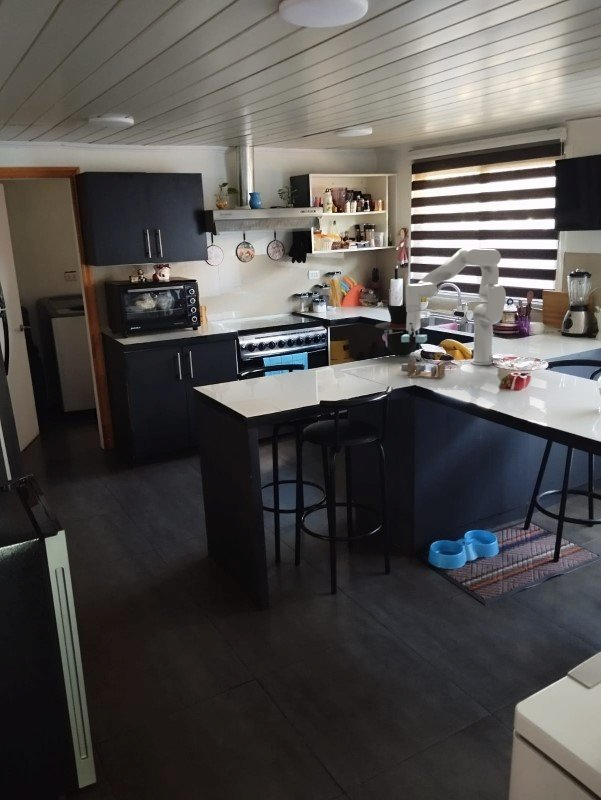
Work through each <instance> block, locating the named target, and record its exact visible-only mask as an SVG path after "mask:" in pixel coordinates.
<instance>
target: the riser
mask: <svg viewBox="0 0 601 800" xmlns="http://www.w3.org/2000/svg"><path fill="white" fill-rule="evenodd" d="M418 365H421V372H422V371H424V370H425V371H426V367H427V366H426V364H419V363H415V370H416V366H418ZM406 370H408V363H402V364H401V371H406ZM425 371H424V372H425Z"/></svg>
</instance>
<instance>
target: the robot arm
mask: <svg viewBox="0 0 601 800" xmlns="http://www.w3.org/2000/svg"><path fill="white" fill-rule="evenodd" d="M501 259H502V256H501V253H500V251H498V250H497V249H493V248H476V247H462V248H460V249H459V250H458V251H456V252H455V253H454V254H453V255H452V256H451V257H450V258H448V259H447V260H446V261H445V262H444V263H443V264H442V265H440V266H439V267H437V268H435V269H434V270H431V271H430V272H428V273H427V274H426V275H425V276H423V277H422V278H421V279H420V280H419V281H418V282H417V283H409V284H407V285H406V287H405V302H406V303H405V304H406V305H405V306H406V312H407V320H406V330H407V331H408V332H409V344H410V345H415V344H416V339H415V335H420V329H421V328H420V322H421V312H422V298H427V299H428V298H433V297H436V295H437V293H438V287H437V285H438V284H440V283H442V282H446V281H449V280H451V279H453V278H455V277H456V276H457V274H459V273H460V272H461V271H462V270H463V269H465V268H466V267H467V266H477V267H478V266H479V268H480V270H481V279H480V280H481V281H480V284H479V285H480V286H479V291H478V297H479V299H480V300H481V301H484V302H486V303H487V304H486V303H481V304H478V305H476V307H474V309H473V312H472V319H473V324H474V326H473V327H474V328H473V331H474V332H473V359H470V364H472V365H475V366H488V365H489V366H490V365H493V364H492V363H493V361H495V362H496V361H497V362H499V361H501V357H499V356H494V353H493V338H494V337H493V335H494V333H493V332H494V331H493V330H494V328H493V325H496V324H498V323H500V321H501V319H503V318H502V317H503V314H504V310H505V309H504V308H505V303H506V300H507V299H506V298H507V293H506V289H505V287H503V286H502V285H501V284H499V278H500V277H499V275H500V274H499V272H500V271H499V267H498V264H499V263H500V262H501ZM412 330H413V331H412Z"/></svg>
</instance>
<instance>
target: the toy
mask: <svg viewBox="0 0 601 800" xmlns="http://www.w3.org/2000/svg"><path fill="white" fill-rule="evenodd" d="M387 309H388V313H389V317H390V321H387V322H381V323H378V324H375V325H374V327H375V328H377V329H379V330H380V329H381V330H384V333H383V334H382V335H381V336H382V340H383V341H384V342H385V347H386V348H387V349H388V350H389V352H390V353H391V354H393V355H395V356H397V357H406V356H409V355H411V354H413V352H414V351H415V349H416V348H417V343H418V342H416V344H415V345H410V344H409V342H401V336H403V335H405V334H407V335H409V332H408V331H407V330H406V320H407V312H406V305H396V306H390V307H388V308H387ZM427 327H429V323H427V322H425V321H424V322H422V321H420V329H424V328H427ZM412 331H413V330H412ZM398 355H400V356H398Z"/></svg>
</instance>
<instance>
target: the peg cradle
mask: <svg viewBox="0 0 601 800" xmlns="http://www.w3.org/2000/svg"><path fill="white" fill-rule="evenodd" d="M445 363H446V361H441V362H440V363H438V364H437V365H433V366H431V367H430V371H429V372H428V371H424V372H422V371H421V365H418V366H416V371H415V364H416V359H412V360H410V361H409V362H407V364H408V371H407V375H406V377H407V376H411V377H410V378H415V377H422V378H421V379H430V378H434V379H433V380H441V379H443V377H444V378H445V376H446V373H445V371H446V370H445V367H446V366H445Z"/></svg>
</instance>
